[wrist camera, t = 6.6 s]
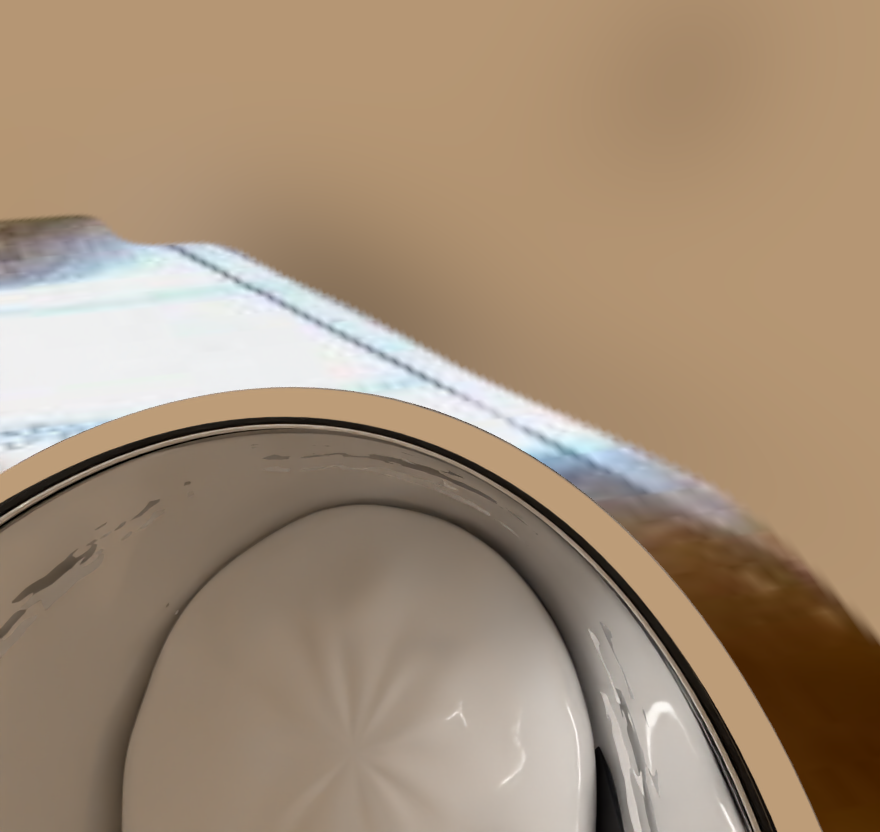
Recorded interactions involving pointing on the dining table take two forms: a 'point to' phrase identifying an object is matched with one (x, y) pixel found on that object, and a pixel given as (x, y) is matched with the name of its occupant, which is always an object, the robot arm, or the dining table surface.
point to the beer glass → (352, 637)
